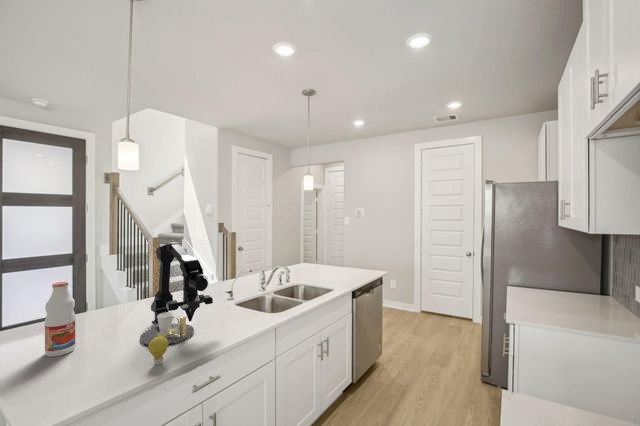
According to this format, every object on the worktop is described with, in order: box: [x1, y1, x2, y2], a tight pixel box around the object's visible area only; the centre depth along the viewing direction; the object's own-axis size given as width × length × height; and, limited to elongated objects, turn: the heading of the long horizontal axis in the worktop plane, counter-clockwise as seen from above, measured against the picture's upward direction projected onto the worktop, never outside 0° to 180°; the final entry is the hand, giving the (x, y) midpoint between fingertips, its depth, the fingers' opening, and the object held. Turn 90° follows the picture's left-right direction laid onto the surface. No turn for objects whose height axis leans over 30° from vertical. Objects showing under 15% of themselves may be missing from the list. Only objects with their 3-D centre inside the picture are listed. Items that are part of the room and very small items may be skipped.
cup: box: [157, 311, 180, 334], centre depth 138 cm, size 7×10×8 cm
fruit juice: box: [44, 281, 76, 358], centre depth 122 cm, size 9×9×28 cm
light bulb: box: [147, 336, 169, 366], centre depth 113 cm, size 7×7×10 cm
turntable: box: [139, 315, 195, 346], centre depth 138 cm, size 22×22×10 cm
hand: (190, 321), depth 136 cm, fingers closed
